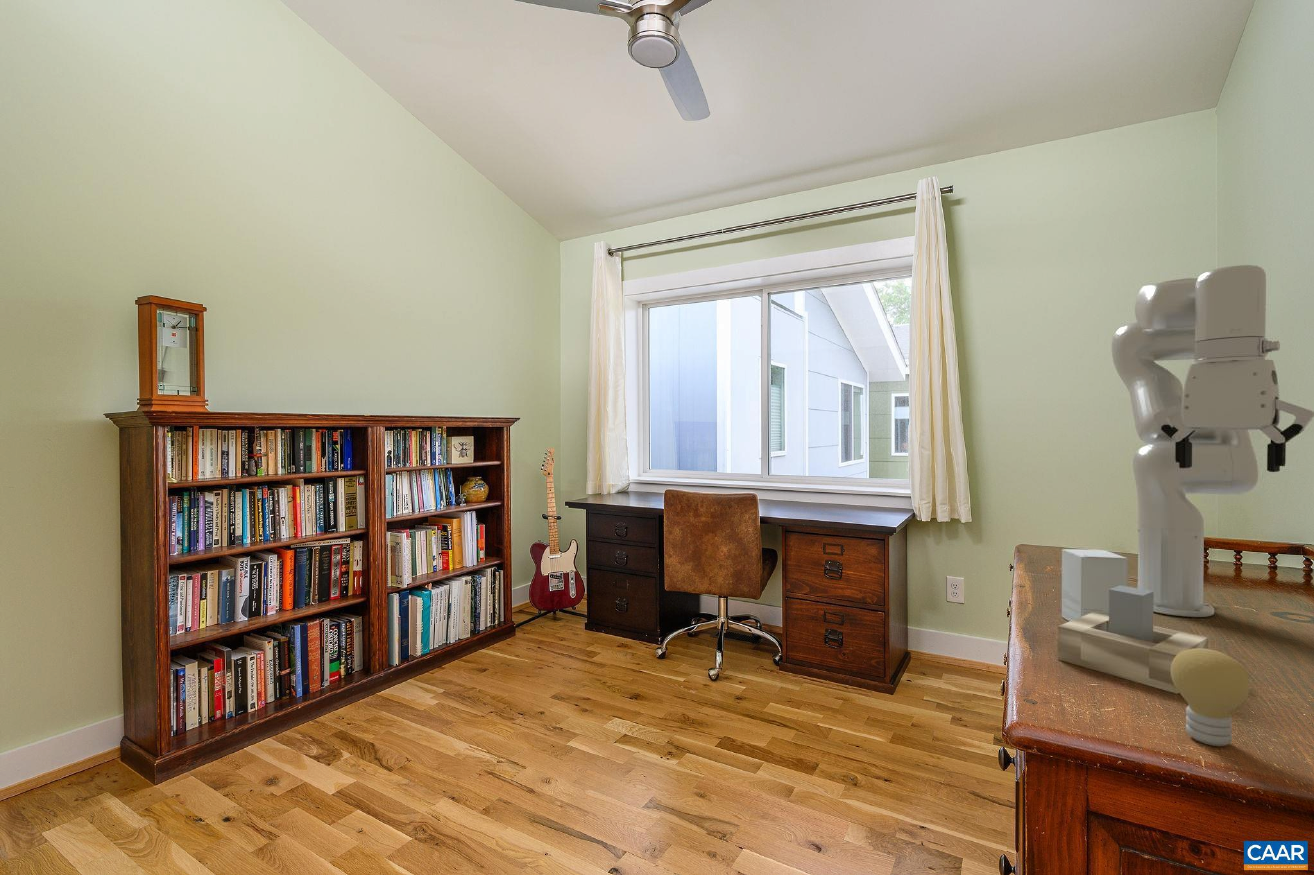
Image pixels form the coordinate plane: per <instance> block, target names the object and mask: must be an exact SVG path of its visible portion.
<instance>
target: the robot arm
mask: <svg viewBox="0 0 1314 875" xmlns="http://www.w3.org/2000/svg"><path fill="white" fill-rule="evenodd" d="M1266 298H1267V275H1266V271H1265V270H1264V269H1263V268H1262V267H1261V266H1258V265H1253V264H1246V265H1245V264H1242V265H1241V264H1240V265H1230V266H1225V267H1224V266H1223V267H1219V268H1214V269H1211V270H1208V271H1205V272H1203V273H1202V274H1200V275H1199V276H1198V277H1195V278H1194V277H1186V278H1179V279H1170V280H1164V281H1160V282H1159V283H1151V284H1145V285H1144V286H1142V287H1141V288H1140V290H1139V292H1138V294H1137V296H1136V300H1135V305H1134V316H1135V318H1136V322H1132V323H1128V324H1125V325H1123V326H1121V327H1119V328H1118V329H1117V330H1116V331H1115V332H1114V333H1113V336H1112V339H1111V355H1112V361H1113V365H1114V368H1115V370H1116V372H1117V374H1118V376H1119V377H1120V379H1121V381H1122V383H1123V384H1124V385H1125V387H1126V389H1127V390H1128V392H1129V395H1130V396H1129V397H1130V403H1131V409H1132V416H1133V421H1134V425H1135V430H1136V433H1137V435H1138V437H1139V439H1140V440H1141V442H1142V441H1143V442H1144V443H1145V445H1143V446H1141V447H1139V448H1138V449H1137V450H1136V451H1135V453H1134V455H1133V458H1132V469H1133V475H1134V480H1135V487H1136V493H1137V505H1138V506H1137V511H1138V515H1137V518H1138V520H1137V522H1138V523H1137V524H1138V526H1137V527H1138V530H1137V531H1138V532H1137V533H1138V535H1137V536H1138V537H1137V540H1138V541H1137V551H1138V552H1137V588H1138V589H1144V590H1149V591H1154V612H1153V613H1159V614H1165V615H1170V616H1178V617H1186V618H1187V617H1189V618H1206V617H1211V616H1213V615H1215V607H1214V606H1212V605H1211V604H1209V603H1207V602H1204V543H1205V542H1204V541H1205V538H1204V537H1205V536H1204V535H1205V534H1204V533H1205V524H1204V517H1203V515H1202V513H1201V511H1200V510H1199V508H1197V507H1196V506H1195V504H1193V503H1192V502H1191V501H1190V500H1189V499H1188V498H1187V496H1186V495H1188V494H1189V495H1191V494H1202V495H1243V494H1246V493H1249V492H1250V491H1252V490H1253V489H1254V488H1255V487H1256V485H1257V484H1258V480H1259V466H1258V461H1257V457H1256V454H1255V453H1256V452H1255V449H1254V447H1253V443H1252V441H1251V437H1250V432H1249V430H1250V431H1251V430H1253V431H1254V430H1260V431H1261V432H1262V433H1264V435H1265V436H1267V437H1268V438H1269V439H1270V442H1269V443H1267V445H1266V447H1267V448H1266V450H1267V452H1266V470H1267V472H1269V473H1277V472H1280V470H1281V468H1280V467H1285V466H1286V460H1287V459H1286V458H1287V457H1286V456H1287V454H1286V453H1287V451H1286V450H1287V449H1286V448H1287V445H1286V444H1287V443H1288V442H1290V441H1291V440H1292V439H1293V438H1295V437H1296V436H1298V435H1299V434H1301V433H1302V432H1303V431H1304V430H1305V429H1306V427H1307V426H1308V425H1309V424H1310V422H1311V421H1312V420H1313V419H1314V410H1311V409H1308V408H1305V407H1302V406H1299V405H1296V404H1293V403H1290V402H1288V401H1285V400H1281V399H1280V388H1279V380H1278V374H1277V370H1276V366H1275V362H1274V360H1272V359H1266V357H1267V356H1268V355H1269V353H1272V352H1277V351H1280V348H1281V347H1280V346H1281V345H1280V344H1281V343H1280V341H1279V340H1276V341H1272V340H1269V339H1267V337H1266V320H1267V319H1266V317H1267V316H1266V310H1267V309H1266V307H1267V303H1266V302H1267V299H1266ZM1267 354H1268V355H1267ZM1182 360H1183V361H1184V360H1185V361H1186V360H1187V361H1188V360H1194V364H1189V365H1188V367H1187V372H1186V376H1185V380H1184V385H1183V384H1182V382H1181V380H1180V379H1179V377H1177V376H1176V375H1175V374H1173V372H1171V371H1170V370H1168V369H1167V368H1165V367H1164V366H1162V365H1160V364H1158V363H1156V361H1157V362H1163V361H1182ZM1183 386H1184V387H1183ZM1281 411H1282V412H1285V413H1287V414H1290V415H1293V416H1294V417H1295V419H1294V420H1293V422H1292V423H1291V424H1290V425H1289V426H1287V427H1286V428H1285V429H1283V430H1282V429H1281V428H1280V427H1278V425H1280V421H1281Z"/></svg>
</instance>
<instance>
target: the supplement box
mask: <svg viewBox="0 0 1314 875" xmlns="http://www.w3.org/2000/svg"><path fill="white" fill-rule="evenodd" d="M1128 560H1129V558H1128V557H1125V556H1123V555H1119V554H1117V553H1114V552H1111V551H1109V550H1106V549H1080V548H1079V549H1075V548H1073V549H1072V548H1070V549H1069V548H1068V549H1067V548H1062V550H1061V617H1062V618H1063V619H1065V621H1067V622H1070V621H1072V620H1075V619H1077V618H1080V617H1082V616H1085V615H1087V614H1090V613H1092V612H1094V613H1098V614H1103V615H1108V616H1109V589H1111V588H1114V587H1117V586H1120V585H1121V586H1127V587H1129V584H1128V579H1129V578H1128V576H1129V575H1128V574H1129V572H1128V568H1129V567H1128V566H1129V563H1128Z"/></svg>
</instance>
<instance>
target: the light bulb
mask: <svg viewBox="0 0 1314 875" xmlns="http://www.w3.org/2000/svg"><path fill="white" fill-rule="evenodd" d="M1171 677H1172V680H1173V683H1174V685H1175V687H1176V688H1177V690H1178V691H1179V694H1180V696H1182V698H1183V699H1184V700H1185V702H1186V703H1187V704H1188V705H1187V706H1186V708H1185V714H1186V717H1185V732H1187V734H1188V735H1189V736H1190V737H1191V738H1193V740H1195V741H1198V742H1199V743H1203V744H1205V745H1208V746H1214V747H1215V746H1216V747H1226V746H1227V745H1229V744H1231V743H1232V742H1233V741H1232V740H1233V739H1232V738H1233V737H1232V733H1233V732H1232V731H1233V730H1232V724H1233V718H1232V716H1231V715H1230V714H1231V713H1232V712H1233V711H1234V710H1236V709H1237V708H1239V707H1240V706H1241V705H1243V703H1244V702H1245V701H1246V700H1247V698H1248V696H1249V693H1250V690H1251V689H1250V688H1251V684H1250V678H1249V676H1248V673H1247V671H1246V669H1245V668H1244V667H1243V666H1242V664H1240V663H1239V661H1238V660H1236V659H1234V658H1233V657H1232V656H1229V655H1227V654H1225V653H1223V652H1221V651H1217V650H1215V649H1211V648H1210V649H1209V648H1208V649H1203V648H1196V649H1189V650H1185V651H1182V652H1180V653H1179V654H1177V655H1176V657H1175V658H1174V659H1173V661H1172V664H1171Z"/></svg>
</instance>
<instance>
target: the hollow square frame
mask: <svg viewBox="0 0 1314 875" xmlns="http://www.w3.org/2000/svg"><path fill="white" fill-rule="evenodd" d="M1196 648H1203V649H1209V637H1208V636H1203V635H1198V634H1194V633H1193V634H1192V633H1189V632H1185V631H1181V630H1175V629H1171V628H1167V627H1161V626H1157V625H1153V643H1152V642H1147V641H1143V640H1139V639H1135V638H1131V637H1126V636H1122V635H1118V634H1114V633H1110V632H1109V616H1108V615H1103V614H1098V613H1094V612H1092V613H1090V614H1087V615H1085V616H1082V617H1080V618H1077V619H1075V620H1072V621H1070V622H1069V621H1067V622H1065V623H1063V624H1060V625H1058V626H1057V660H1058V661H1060V662H1061V661H1062V662H1066V663H1069V664H1073V665H1077V666H1079V667H1084V668H1087V669H1090V670H1094V671H1097V672H1100V673H1103V674H1106V675H1110V676H1115V677H1118V678H1122V679H1124V680H1128V681H1131V682H1135V683H1139V684H1142V685H1146V686H1148V687H1153V688H1156V689H1159V690H1163V691H1166V692H1170V693H1174V694H1175V695H1177V694H1180V692H1179V691H1178V690H1177V688H1176V687H1175V685H1174V683H1173V680H1172V677H1171V664H1172V661H1173V659H1174V658H1175V657H1176V655H1177V654H1179V653H1180V652H1182V651H1185V650H1189V649H1196Z"/></svg>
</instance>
